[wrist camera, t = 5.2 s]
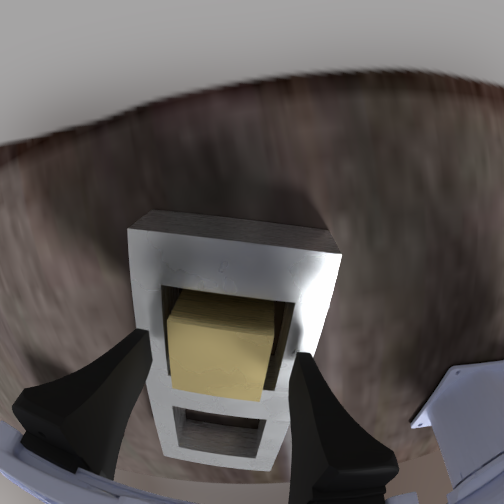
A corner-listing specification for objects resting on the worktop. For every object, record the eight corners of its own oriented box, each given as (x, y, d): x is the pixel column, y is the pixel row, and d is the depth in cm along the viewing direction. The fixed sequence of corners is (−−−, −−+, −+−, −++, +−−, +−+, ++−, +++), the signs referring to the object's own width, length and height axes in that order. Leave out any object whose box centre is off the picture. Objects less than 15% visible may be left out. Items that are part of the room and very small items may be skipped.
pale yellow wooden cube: (273, 283, 16) (274, 336, 12) (262, 346, 18) (259, 401, 14) (191, 272, 16) (166, 320, 12) (190, 335, 18) (172, 388, 14)
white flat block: (329, 230, 14) (341, 254, 12) (270, 443, 22) (270, 471, 20) (152, 209, 15) (127, 228, 12) (171, 429, 23) (164, 455, 20)
